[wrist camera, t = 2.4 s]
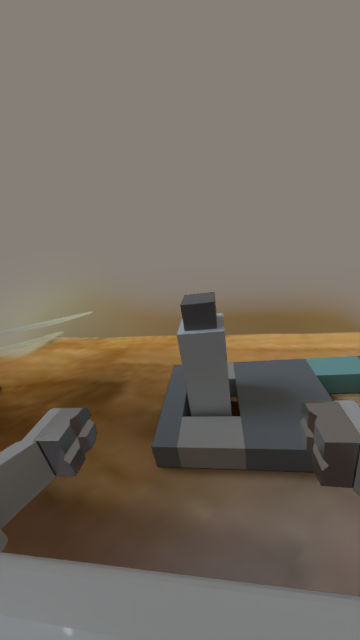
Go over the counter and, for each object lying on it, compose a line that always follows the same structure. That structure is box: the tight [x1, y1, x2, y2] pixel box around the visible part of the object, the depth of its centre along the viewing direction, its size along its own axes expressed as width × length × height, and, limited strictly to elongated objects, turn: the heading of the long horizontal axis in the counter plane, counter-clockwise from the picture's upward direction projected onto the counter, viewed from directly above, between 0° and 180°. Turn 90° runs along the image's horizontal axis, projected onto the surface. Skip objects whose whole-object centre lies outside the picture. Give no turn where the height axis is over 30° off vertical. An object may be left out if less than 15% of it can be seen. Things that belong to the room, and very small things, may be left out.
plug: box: [177, 292, 232, 417], centre depth 22 cm, size 4×4×13 cm
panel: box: [152, 356, 360, 472], centre depth 23 cm, size 24×12×2 cm, turn 82°
